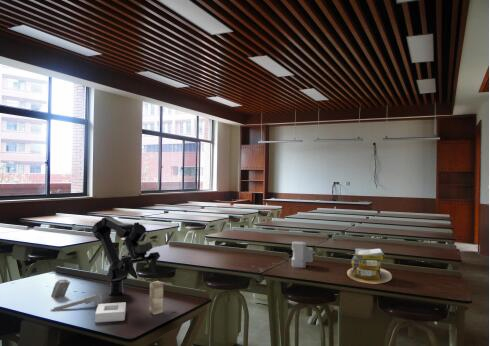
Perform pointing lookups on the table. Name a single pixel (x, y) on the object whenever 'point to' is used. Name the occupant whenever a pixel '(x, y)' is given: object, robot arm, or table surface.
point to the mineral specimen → (60, 288)
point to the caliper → (85, 300)
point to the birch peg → (156, 297)
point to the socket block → (110, 312)
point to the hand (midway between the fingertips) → (146, 276)
